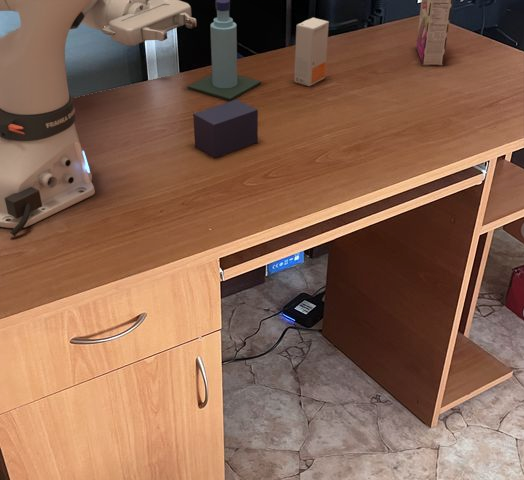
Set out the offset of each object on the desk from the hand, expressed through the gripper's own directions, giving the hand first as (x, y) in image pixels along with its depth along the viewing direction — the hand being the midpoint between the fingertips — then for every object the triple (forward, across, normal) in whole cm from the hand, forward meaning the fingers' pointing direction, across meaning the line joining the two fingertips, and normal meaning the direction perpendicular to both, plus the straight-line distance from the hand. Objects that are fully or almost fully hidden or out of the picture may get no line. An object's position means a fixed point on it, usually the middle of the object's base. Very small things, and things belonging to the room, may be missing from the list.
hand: (179, 29), depth 164 cm
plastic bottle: (+17, 0, +6) cm, 18 cm away
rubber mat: (+12, 0, +9) cm, 15 cm away
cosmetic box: (+24, +13, +10) cm, 29 cm away
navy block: (+28, -21, +9) cm, 37 cm away
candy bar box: (+38, +41, +10) cm, 57 cm away
